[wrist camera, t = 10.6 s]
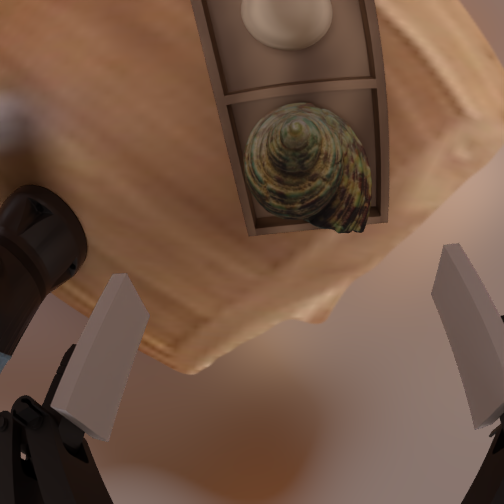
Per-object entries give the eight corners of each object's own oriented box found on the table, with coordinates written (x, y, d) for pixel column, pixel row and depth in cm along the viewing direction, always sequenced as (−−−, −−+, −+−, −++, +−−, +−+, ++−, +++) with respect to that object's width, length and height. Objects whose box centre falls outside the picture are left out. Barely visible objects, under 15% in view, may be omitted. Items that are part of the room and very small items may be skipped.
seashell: (253, 206, 32) (242, 272, 24) (247, 95, 25) (229, 123, 17) (357, 208, 31) (378, 274, 23) (367, 98, 24) (406, 130, 16)
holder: (251, 221, 34) (248, 236, 32) (190, -35, 18) (180, -41, 16) (381, 208, 32) (387, 222, 29) (351, -57, 15) (358, -65, 13)
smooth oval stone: (254, 54, 23) (246, 58, 18) (239, -13, 19) (225, -28, 14) (332, 45, 22) (346, 47, 16) (318, -23, 18) (328, -41, 13)
